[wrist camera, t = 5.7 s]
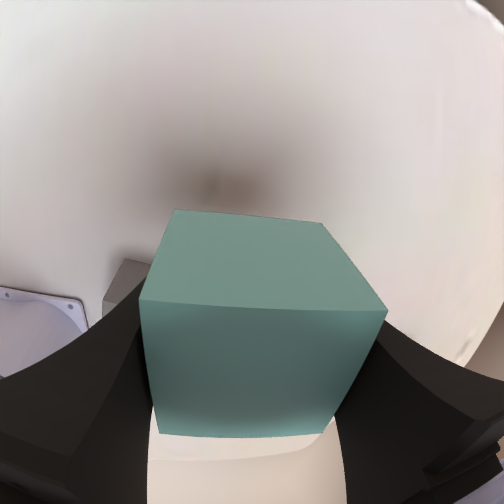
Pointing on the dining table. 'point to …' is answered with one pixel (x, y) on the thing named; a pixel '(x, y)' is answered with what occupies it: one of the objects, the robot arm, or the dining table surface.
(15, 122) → the dining table surface
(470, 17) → the dining table surface
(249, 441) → the dining table surface
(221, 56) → the dining table surface
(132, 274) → the grey block
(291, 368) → the teal block
